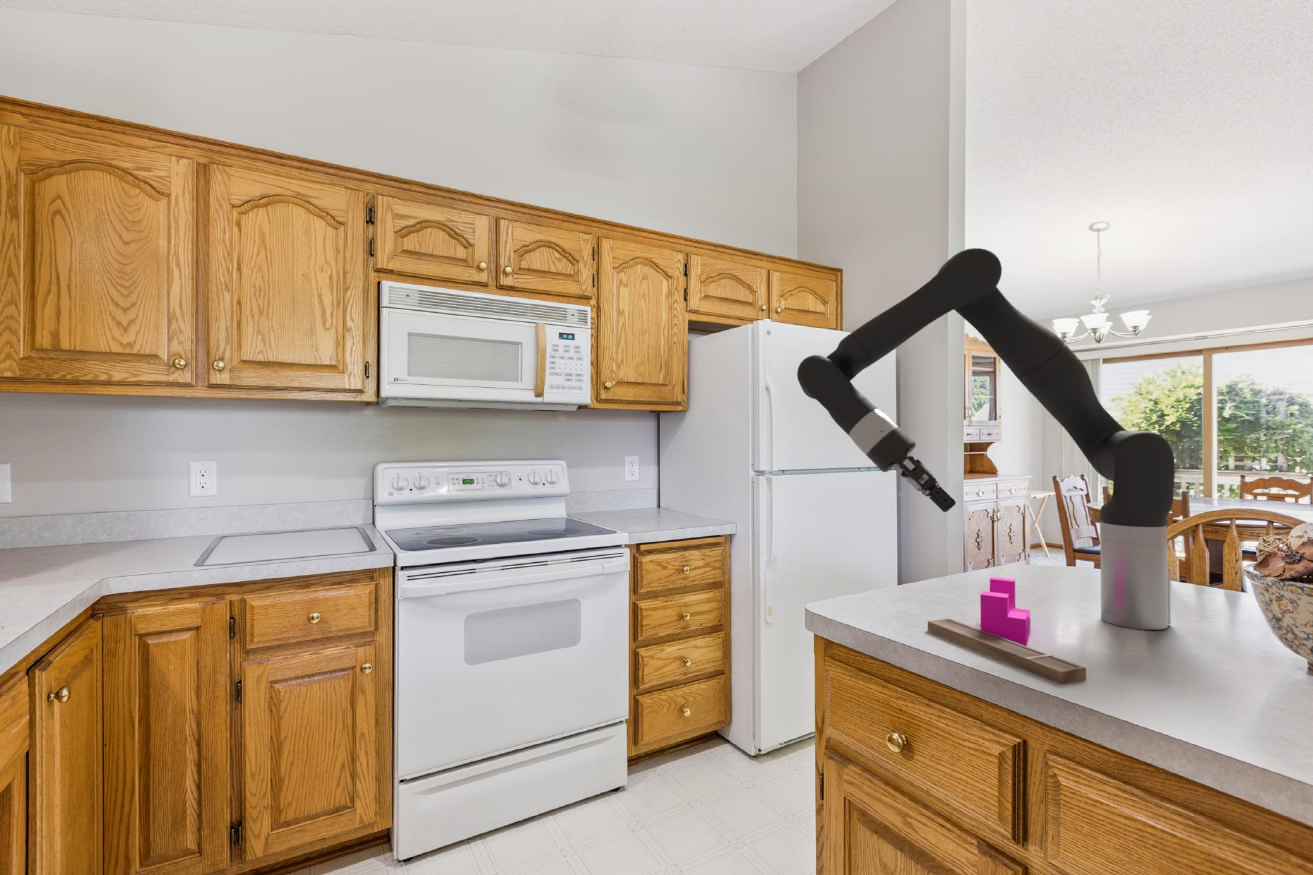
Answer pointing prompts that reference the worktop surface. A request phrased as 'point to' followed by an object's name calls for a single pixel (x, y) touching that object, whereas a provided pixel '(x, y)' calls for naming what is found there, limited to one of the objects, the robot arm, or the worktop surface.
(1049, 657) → the walnut plank
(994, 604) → the toy block
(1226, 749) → the worktop surface
